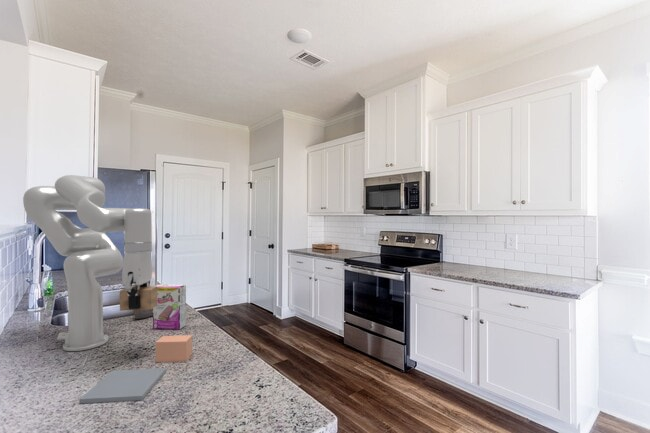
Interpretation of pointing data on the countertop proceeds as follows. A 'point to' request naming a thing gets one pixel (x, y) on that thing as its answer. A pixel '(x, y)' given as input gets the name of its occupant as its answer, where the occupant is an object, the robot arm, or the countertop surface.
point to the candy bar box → (170, 307)
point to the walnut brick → (146, 298)
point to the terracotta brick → (173, 348)
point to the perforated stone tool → (143, 313)
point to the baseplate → (124, 386)
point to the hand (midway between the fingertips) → (139, 305)
